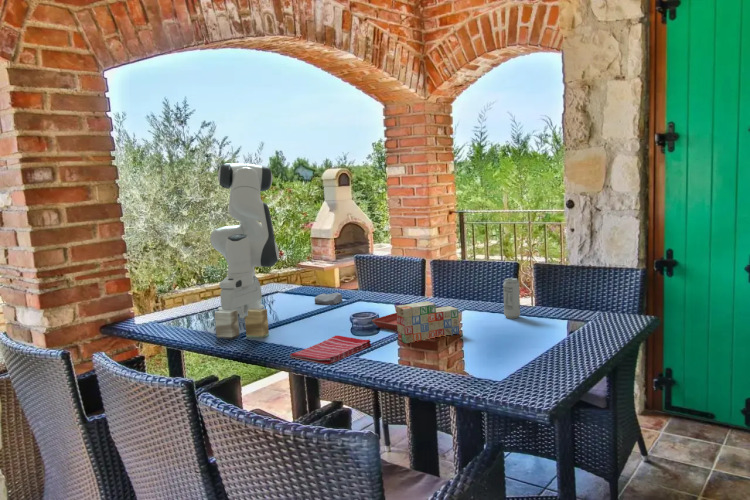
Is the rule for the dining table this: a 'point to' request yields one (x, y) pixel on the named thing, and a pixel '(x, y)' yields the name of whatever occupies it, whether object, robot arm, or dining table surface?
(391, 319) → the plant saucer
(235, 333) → the pine block
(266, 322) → the oak block
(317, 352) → the dish towel
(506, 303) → the energy drink can
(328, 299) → the stone block
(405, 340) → the stack of blocks
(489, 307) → the dining table surface
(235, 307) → the robot arm
